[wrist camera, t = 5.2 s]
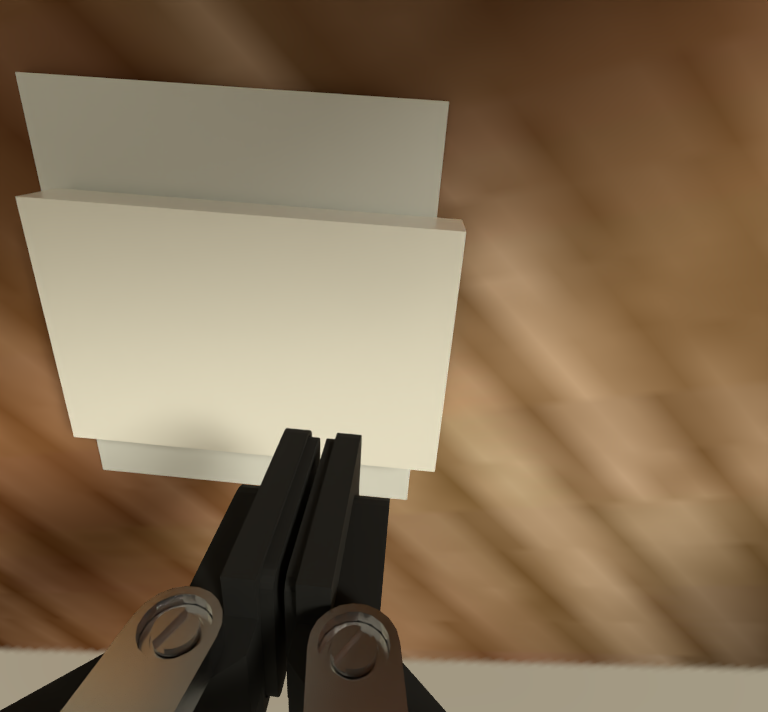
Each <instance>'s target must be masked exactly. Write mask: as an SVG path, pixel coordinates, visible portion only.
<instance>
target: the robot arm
mask: <svg viewBox="0 0 768 712" xmlns="http://www.w3.org/2000/svg"><path fill="white" fill-rule="evenodd" d="M361 445H362V435H357V434H347V433H337V434H336V437H335V439H329V438H327V439H326V442H325V445H324V449H323V452H322V455H321V459H320V438H318V437H312V431H311V430H303V429H292V428H286V429H285V431H284V433H283V435H282V437H281V439H280V442H279V444H278V446H277V448H276V451H275V453H274V455H273V458H272V460H271V462H270V464H269V467H268V469H267V471H266V473H265V476H264V478H263V480H262V483H261V485H260V486H254V485H244V484H242V485H241V486H240V487H239V488H238V490H237V492H236V494H235V496H234V498H233V500H232V502H231V504H230V506H229V508H228V510H227V512H226V514H225V516H224V518H223V520H222V522H221V524H220V526H219V528H218V530H217V532H216V534H215V536H214V538H213V540H212V542H211V544H210V546H209V548H208V550H207V552H206V554H205V556H204V558H203V560H202V562H201V564H200V566H199V568H198V570H197V572H196V574H195V576H194V578H193V580H192V582H191V584H190V586H184V587H178V588H172V589H170V590H167V591H165V592H162V593H159V594H157V595H156V596H154V597H153V598H151V599H150V600H148V601H147V602H145V603H144V604H143V605H142V606H141V608H140V609H139V610H138V611H137V612H136V613H135V614H134V615H133V616H132V618H131V619H130V620H129V622H128V623H127V624H126V626H125V627H124V628H123V630H122V631H121V632H120V633H119V635H118V636H117V637H116V639H115V640H114V641H113V643H112V644H111V645H110V647H109V648H108V649H107V651H106V652H105V653H104V654H102V655H100V656H98V657H96V658H95V659H93V660H91V661H89V662H88V663H86V664H84V665H82V666H80V667H78V668H77V669H75V670H73V671H71V672H69V673H68V674H66V675H64V676H62V677H60V678H58V679H57V680H55V681H53V682H51V683H49V684H48V685H46V686H44V687H42V688H40V689H39V690H37V691H35V692H33V693H31V694H29V695H28V696H26V697H24V698H22V699H20V700H19V701H17V702H15V703H13V704H11V705H10V706H8V707H6V708H4V709H2V710H0V712H266V710H267V706H268V702H269V698H270V696H275V697H279V696H280V694H281V692H282V688H283V684H284V679H285V676H286V672H287V689H288V690H287V691H288V698H289V712H446V711H445V710H444V709H443V708H442V706H441V705H440V704H439V703H438V702H437V701H436V700H435V699H434V697H433V696H432V695H431V694H430V693H429V692H428V691H427V690H426V688H424V686H423V685H422V684H421V683H420V682H419V681H418V679H417V678H416V677H415V676H414V675H413V674H412V673H411V672H410V670H409V669H408V668H407V667H406V666H405V665H404V664H403V663H402V655H401V646H400V640H399V637H398V633H397V630H396V628H395V626H394V625H393V623H392V622H391V620H390V619H389V618H388V617H387V616H386V615H384V614H383V613H382V612H381V611H380V607H381V596H382V584H383V572H384V561H385V549H386V537H387V526H388V514H389V502H390V498H379V497H369V496H359V484H360V465H361Z"/></svg>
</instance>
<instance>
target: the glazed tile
mask: <svg viewBox="0 0 768 712" xmlns="http://www.w3.org/2000/svg"><path fill="white" fill-rule="evenodd" d="M15 198H16V202H17V206H18V210H19V214H20V218H21V222H22V226H23V230H24V235H25V239H26V243H27V247H28V251H29V255H30V259H31V263H32V267H33V271H34V275H35V279H36V284H37V288H38V292H39V296H40V300H41V304H42V308H43V312H44V316H45V320H46V324H47V328H48V332H49V337H50V341H51V345H52V349H53V353H54V357H55V361H56V365H57V369H58V373H59V377H60V381H61V386H62V390H63V394H64V398H65V402H66V406H67V410H68V414H69V418H70V422H71V426H72V430H73V434H74V437H81V438H92V439H102V440H112V441H122V442H133V443H143V444H153V445H164V446H174V447H184V448H194V449H205V450H215V451H225V452H236V453H246V454H256V455H267V456H273V455H274V453H275V451H276V448H277V446H278V444H279V442H280V439H281V437H282V435H283V433H284V431H285V429H286V428H292V429H303V430H311V431H312V437H318V438H320V459H321V455H322V452H323V449H324V445H325V442H326V439H327V438H329V439H335V437H336V434H337V433H347V434H357V435H362V445H361V465H369V466H380V467H390V468H400V469H411V470H421V471H431V472H435V465H436V458H437V450H438V442H439V435H440V427H441V420H442V412H443V405H444V397H445V390H446V382H447V375H448V367H449V360H450V352H451V344H452V337H453V329H454V322H455V314H456V307H457V299H458V292H459V284H460V277H461V269H462V262H463V254H464V246H465V239H466V229H465V226H464V224H463V221H462V219H449V218H436V217H423V216H410V215H397V214H384V213H372V212H359V211H346V210H333V209H320V208H307V207H294V206H281V205H268V204H255V203H242V202H230V201H217V200H204V199H191V198H178V197H165V196H152V195H139V194H126V193H113V192H100V191H88V190H75V189H62V188H56V189H51V190H46V191H40V192H35V193H30V194H25V195H20V196H15Z"/></svg>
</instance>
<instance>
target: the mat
mask: <svg viewBox="0 0 768 712" xmlns="http://www.w3.org/2000/svg"><path fill="white" fill-rule="evenodd" d="M15 75H16V79H17V84H18V88H19V93H20V97H21V102H22V106H23V111H24V115H25V120H26V124H27V129H28V133H29V138H30V142H31V147H32V151H33V156H34V160H35V165H36V169H37V174H38V178H39V183H40V187H41V191H46V190H51V189H56V188H62V189H75V190H88V191H100V192H113V193H126V194H139V195H152V196H165V197H178V198H191V199H204V200H217V201H230V202H242V203H255V204H268V205H281V206H294V207H307V208H320V209H333V210H346V211H359V212H372V213H384V214H397V215H410V216H423V217H436V218H437V212H438V202H439V193H440V183H441V174H442V165H443V155H444V146H445V136H446V127H447V118H448V108H449V101H435V100H420V99H406V98H391V97H376V96H362V95H347V94H332V93H318V92H303V91H289V90H274V89H259V88H245V87H230V86H216V85H201V84H186V83H172V82H157V81H143V80H128V79H113V78H99V77H84V76H70V75H55V74H40V73H26V72H15ZM97 444H98V448H99V453H100V457H101V462H102V466H103V470H112V471H122V472H132V473H142V474H152V475H162V476H172V477H183V478H193V479H203V480H213V481H223V482H233V483H243V484H253V485H261V483H262V480H263V478H264V476H265V473H266V471H267V469H268V467H269V464H270V462H271V460H272V458H273V456H267V455H256V454H246V453H236V452H225V451H215V450H205V449H194V448H184V447H174V446H164V445H153V444H143V443H133V442H122V441H112V440H102V439H97ZM409 475H410V469H400V468H390V467H380V466H369V465H360V484H359V495H363V496H373V497H383V498H393V499H404V500H407V494H408V485H409Z"/></svg>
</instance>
